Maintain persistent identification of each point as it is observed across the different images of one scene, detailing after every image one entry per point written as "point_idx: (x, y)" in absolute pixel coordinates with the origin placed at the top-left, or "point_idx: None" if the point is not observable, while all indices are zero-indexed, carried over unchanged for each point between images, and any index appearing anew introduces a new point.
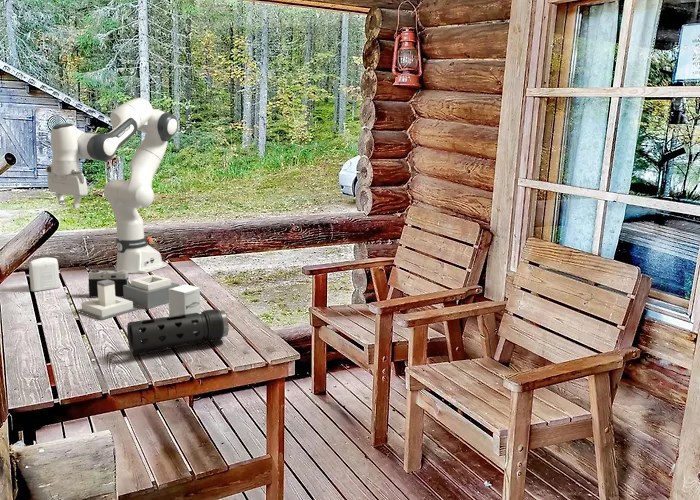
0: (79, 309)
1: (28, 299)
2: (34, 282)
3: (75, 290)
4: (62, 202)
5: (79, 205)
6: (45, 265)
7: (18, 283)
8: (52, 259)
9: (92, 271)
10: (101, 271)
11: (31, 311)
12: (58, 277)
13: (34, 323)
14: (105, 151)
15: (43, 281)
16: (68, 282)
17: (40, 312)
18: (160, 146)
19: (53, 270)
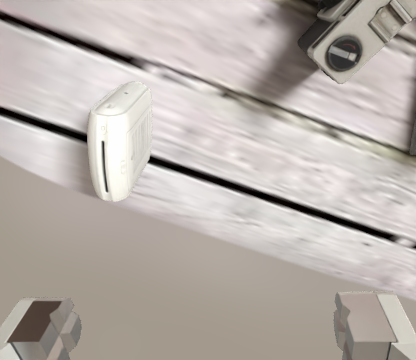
0: (413, 149)
1: (207, 190)
2: (144, 167)
3: (210, 61)
4: (63, 343)
5: (403, 312)
6: (132, 157)
7: (34, 150)
8: (115, 135)
9: (346, 68)
10: (362, 28)
11: (307, 221)
12: (142, 97)
13: (393, 248)
14: None
15: (146, 143)
16: (100, 33)
17: (332, 212)
18: None
19: (136, 123)
